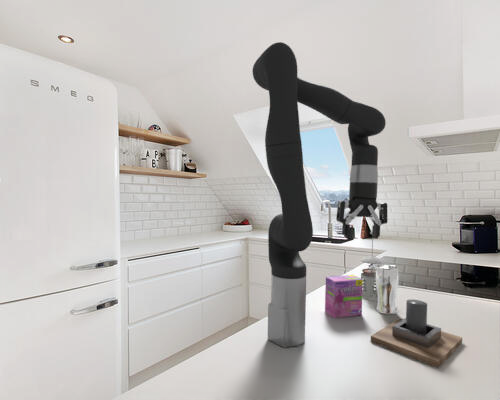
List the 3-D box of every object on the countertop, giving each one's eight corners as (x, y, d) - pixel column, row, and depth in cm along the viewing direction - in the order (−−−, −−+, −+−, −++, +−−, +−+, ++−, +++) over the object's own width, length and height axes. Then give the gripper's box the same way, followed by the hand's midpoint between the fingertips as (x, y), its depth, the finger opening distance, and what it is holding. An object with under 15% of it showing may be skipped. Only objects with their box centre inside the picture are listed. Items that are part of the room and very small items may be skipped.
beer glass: (378, 305, 106) (379, 263, 106) (399, 310, 102) (401, 266, 102) (371, 311, 101) (373, 266, 101) (394, 317, 97) (395, 270, 96)
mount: (438, 368, 68) (439, 350, 68) (370, 341, 80) (371, 326, 80) (462, 343, 80) (462, 328, 80) (399, 323, 92) (400, 309, 92)
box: (333, 318, 95) (334, 281, 95) (324, 311, 100) (325, 276, 100) (362, 315, 98) (363, 279, 97) (352, 309, 103) (352, 274, 103)
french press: (380, 292, 121) (381, 229, 120) (390, 303, 109) (392, 233, 109) (354, 291, 122) (356, 229, 121) (362, 301, 110) (364, 233, 110)
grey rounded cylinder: (422, 342, 77) (423, 307, 77) (402, 336, 80) (403, 302, 80) (428, 336, 80) (429, 303, 80) (409, 330, 84) (410, 298, 84)
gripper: (344, 180, 83) (342, 239, 83) (394, 182, 85) (391, 240, 85) (334, 181, 91) (332, 235, 91) (380, 183, 92) (377, 236, 92)
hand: (360, 237), depth 88 cm, fingers open, 8 cm apart
